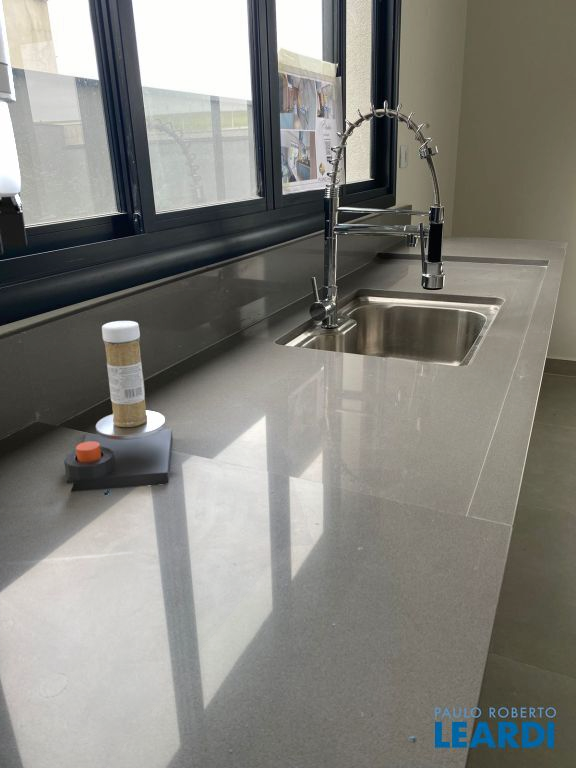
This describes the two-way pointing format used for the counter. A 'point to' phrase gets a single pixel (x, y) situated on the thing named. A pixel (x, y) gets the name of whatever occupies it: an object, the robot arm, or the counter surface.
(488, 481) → the counter surface
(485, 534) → the counter surface
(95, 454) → the tare button
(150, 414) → the weighing pan
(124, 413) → the spice jar
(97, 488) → the scale
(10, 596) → the counter surface
